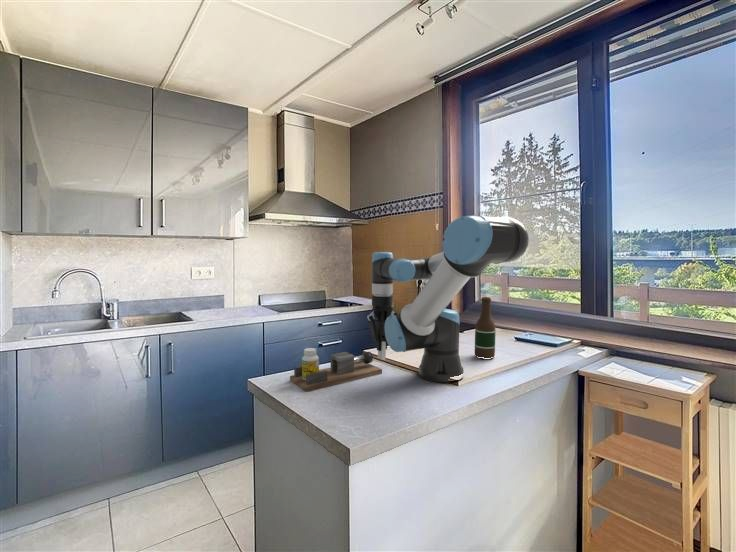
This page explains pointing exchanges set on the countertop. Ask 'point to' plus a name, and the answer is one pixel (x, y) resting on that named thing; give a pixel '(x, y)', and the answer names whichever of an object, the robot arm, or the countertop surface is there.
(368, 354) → the shaft
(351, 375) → the base
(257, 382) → the countertop surface
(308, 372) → the supplement bottle
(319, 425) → the countertop surface
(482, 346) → the beer bottle
